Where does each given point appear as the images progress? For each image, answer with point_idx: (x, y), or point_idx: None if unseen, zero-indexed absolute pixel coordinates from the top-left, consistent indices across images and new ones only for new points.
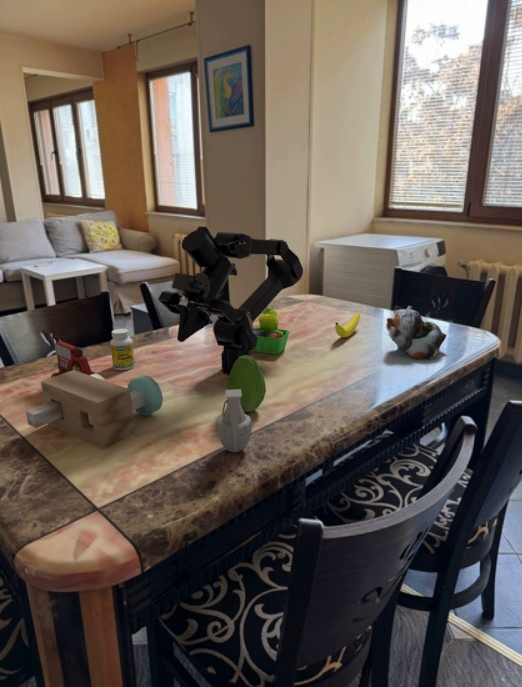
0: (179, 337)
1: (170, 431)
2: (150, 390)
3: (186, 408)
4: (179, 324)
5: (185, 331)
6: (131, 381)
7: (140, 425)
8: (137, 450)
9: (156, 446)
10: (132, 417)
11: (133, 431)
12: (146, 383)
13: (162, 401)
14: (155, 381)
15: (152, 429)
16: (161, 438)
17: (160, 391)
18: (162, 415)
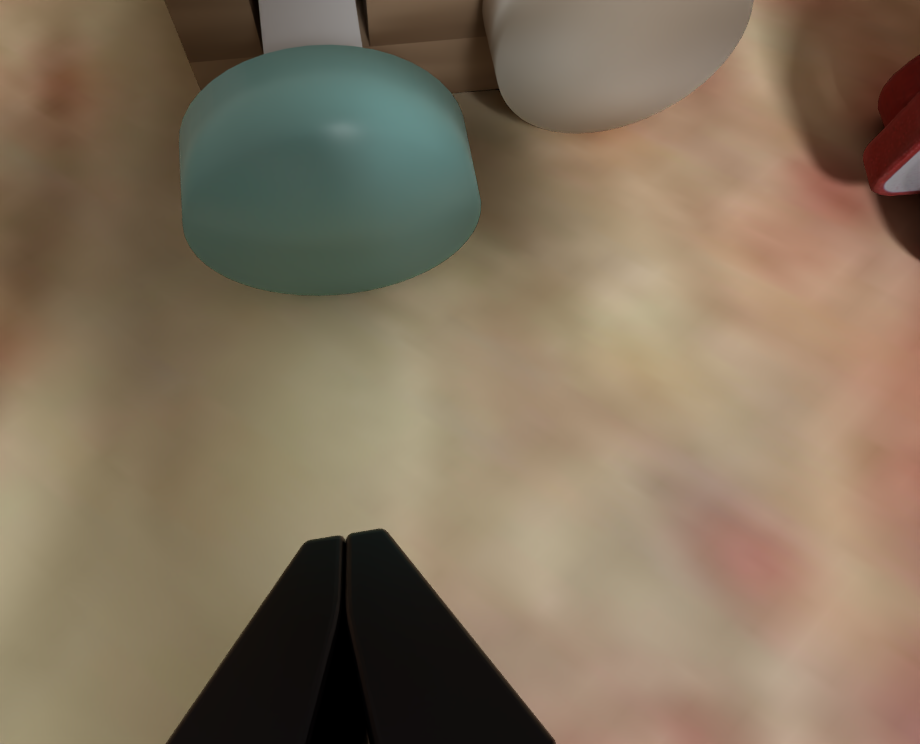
0: (327, 551)
1: (63, 244)
2: (188, 113)
3: (217, 495)
4: (526, 735)
5: (204, 691)
6: (401, 65)
7: None
8: (62, 46)
9: (7, 115)
10: (181, 37)
11: None
12: (229, 82)
13: (201, 259)
14: (221, 163)
15: (171, 196)
16: (48, 172)
17: (182, 209)
18: (266, 327)
